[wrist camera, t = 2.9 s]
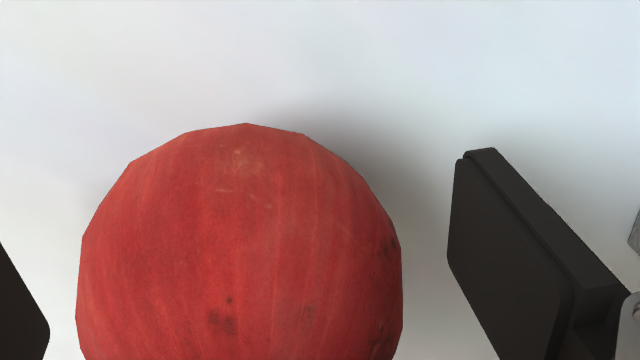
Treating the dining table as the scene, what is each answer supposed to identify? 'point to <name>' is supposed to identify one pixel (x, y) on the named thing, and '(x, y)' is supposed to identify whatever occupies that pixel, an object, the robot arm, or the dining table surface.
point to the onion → (240, 255)
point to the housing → (635, 236)
